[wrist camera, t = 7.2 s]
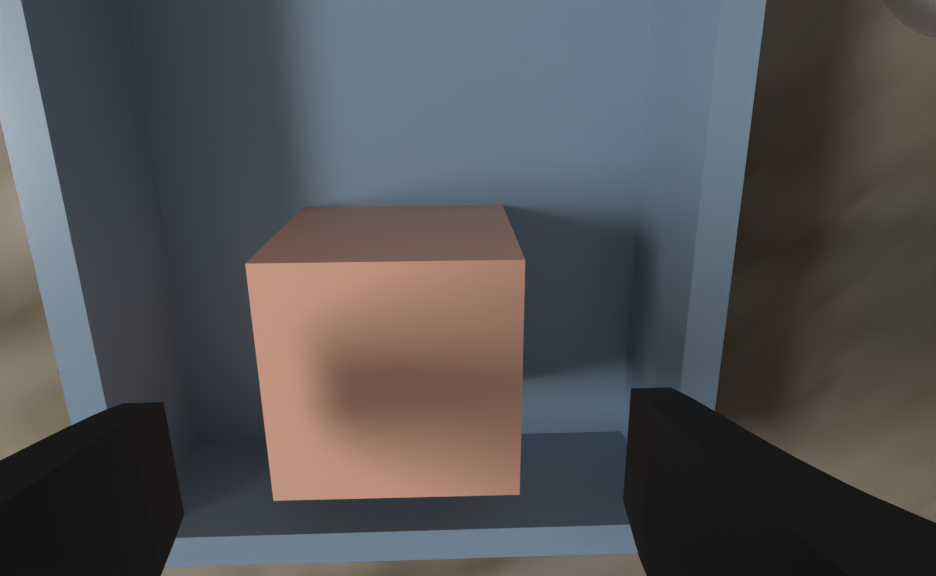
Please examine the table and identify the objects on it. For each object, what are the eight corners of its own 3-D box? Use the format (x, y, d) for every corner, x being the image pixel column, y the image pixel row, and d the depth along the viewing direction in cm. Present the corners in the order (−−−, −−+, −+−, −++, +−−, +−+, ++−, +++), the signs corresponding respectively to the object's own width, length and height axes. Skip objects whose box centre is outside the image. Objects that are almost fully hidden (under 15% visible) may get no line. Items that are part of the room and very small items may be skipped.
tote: (637, 436, 20) (696, 551, 15) (187, 447, 20) (104, 569, 15) (696, -265, 14) (821, -432, 10) (66, -268, 14) (-131, -443, 9)
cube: (500, 383, 18) (519, 494, 13) (319, 386, 18) (273, 500, 13) (502, 204, 16) (525, 260, 12) (303, 207, 16) (244, 263, 12)
